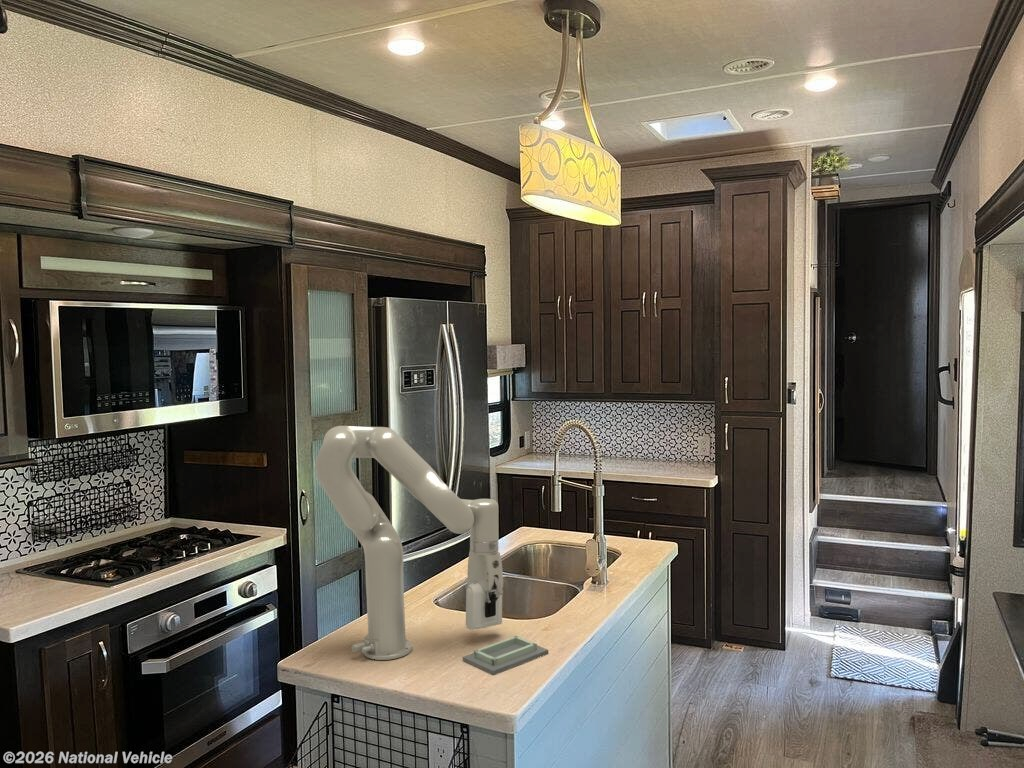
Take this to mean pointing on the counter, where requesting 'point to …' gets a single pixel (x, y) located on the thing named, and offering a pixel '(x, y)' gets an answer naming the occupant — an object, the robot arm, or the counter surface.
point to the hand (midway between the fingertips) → (484, 613)
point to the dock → (505, 655)
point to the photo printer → (480, 608)
